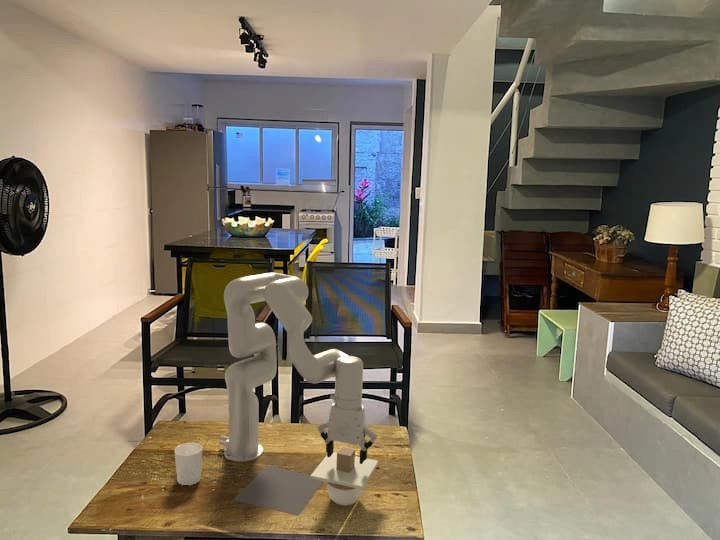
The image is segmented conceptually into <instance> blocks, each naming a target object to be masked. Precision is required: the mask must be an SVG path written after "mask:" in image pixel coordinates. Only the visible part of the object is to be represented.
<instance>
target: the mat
mask: <svg viewBox="0 0 720 540" xmlns="http://www.w3.org/2000/svg"><path fill="white" fill-rule="evenodd" d="M310 476H311V474H307V473H303V472H299V471H298V472H297V471H293V470H290V469H289V470H288V469H285V468H280V467H276V466H272V465H265V466H264V468H263V469H262V470H261V471H260V472H258V474H257V475H256V476H255V477H254V478H253V479H252V480H251V481H250V482H249V483H248V484H247V485H246V486H245V487H244V488H243V489H242V490H241V491H240V492H239V493H238V494H237V495H236V496H235V497H234V498H233V501H236V502H240V503H244V504H249V505H253V506H257V507H261V508H265V509H269V510H273V511H278V512H282V513H286V514H289V515H295V516H298V517H299V515H300V514H301V513H302V511H303V510H304V509H305V508H306V506H307V505H308V504H309V502H310V501H311V499H312V498H313V497H314V495H315V494H316V492H317V491H318V490H319V489H320V487H321V485H322V484H323V483H324V482H325V481H321V480H316V479H312V478H310Z"/></svg>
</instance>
